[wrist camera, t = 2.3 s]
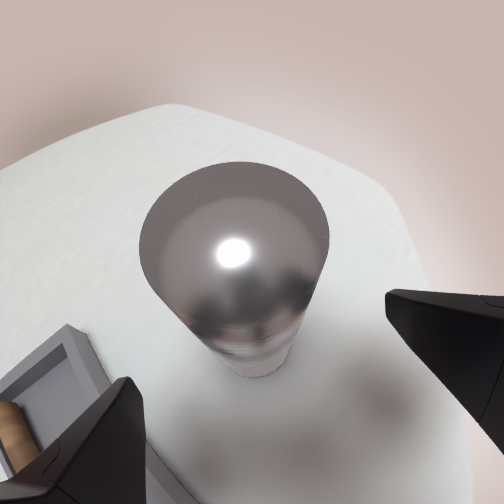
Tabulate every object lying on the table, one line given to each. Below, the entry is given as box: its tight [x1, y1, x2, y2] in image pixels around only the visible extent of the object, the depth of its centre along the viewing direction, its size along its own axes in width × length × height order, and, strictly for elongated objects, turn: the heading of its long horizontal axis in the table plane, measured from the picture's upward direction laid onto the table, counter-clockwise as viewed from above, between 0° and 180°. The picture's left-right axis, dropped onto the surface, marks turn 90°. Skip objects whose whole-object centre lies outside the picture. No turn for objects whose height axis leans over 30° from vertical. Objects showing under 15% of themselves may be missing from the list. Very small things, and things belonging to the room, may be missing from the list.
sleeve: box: [139, 162, 329, 378], centre depth 12 cm, size 5×5×13 cm
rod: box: [0, 401, 40, 473], centre depth 11 cm, size 7×3×3 cm, turn 39°
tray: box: [0, 324, 199, 504], centre depth 12 cm, size 16×14×3 cm
